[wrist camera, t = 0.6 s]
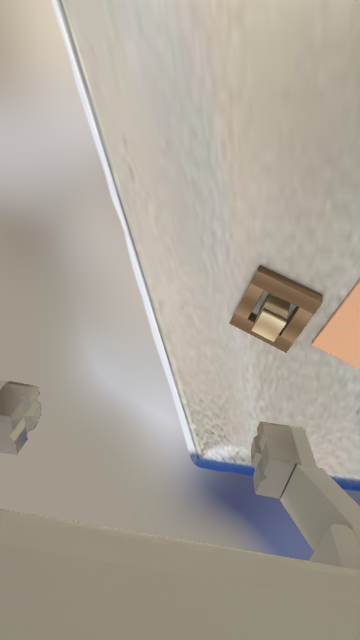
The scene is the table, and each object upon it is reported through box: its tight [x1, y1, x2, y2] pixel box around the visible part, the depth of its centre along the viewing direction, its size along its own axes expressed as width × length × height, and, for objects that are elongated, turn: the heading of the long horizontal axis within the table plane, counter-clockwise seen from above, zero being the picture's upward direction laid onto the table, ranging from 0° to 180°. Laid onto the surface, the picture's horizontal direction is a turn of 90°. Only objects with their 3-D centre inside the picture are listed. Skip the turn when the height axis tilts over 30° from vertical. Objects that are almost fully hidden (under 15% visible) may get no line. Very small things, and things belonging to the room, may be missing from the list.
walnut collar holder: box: [230, 265, 322, 352], centre depth 55 cm, size 12×12×3 cm
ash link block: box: [251, 293, 290, 342], centre depth 53 cm, size 4×4×8 cm
